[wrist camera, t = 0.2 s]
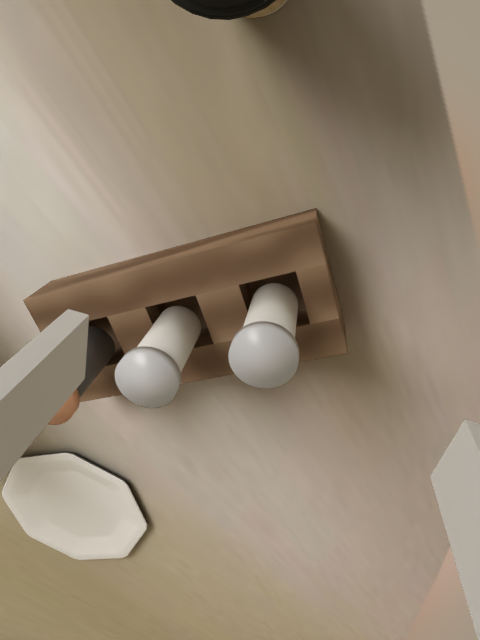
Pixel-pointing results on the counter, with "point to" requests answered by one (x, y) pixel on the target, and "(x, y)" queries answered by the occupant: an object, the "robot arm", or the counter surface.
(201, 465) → the counter surface
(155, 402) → the knob mid
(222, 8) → the coffee cup
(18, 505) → the plate
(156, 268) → the mount
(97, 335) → the pot knob
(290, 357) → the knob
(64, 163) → the counter surface
